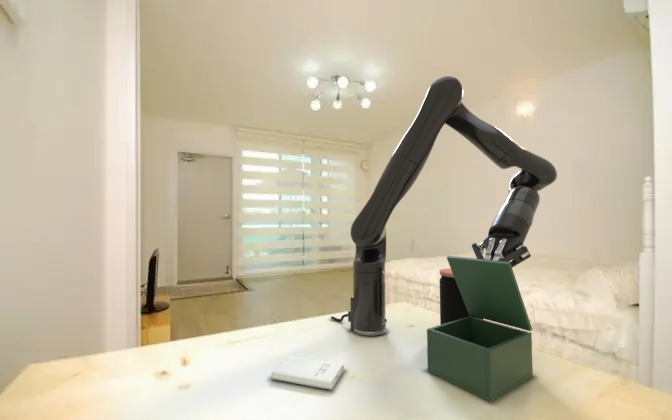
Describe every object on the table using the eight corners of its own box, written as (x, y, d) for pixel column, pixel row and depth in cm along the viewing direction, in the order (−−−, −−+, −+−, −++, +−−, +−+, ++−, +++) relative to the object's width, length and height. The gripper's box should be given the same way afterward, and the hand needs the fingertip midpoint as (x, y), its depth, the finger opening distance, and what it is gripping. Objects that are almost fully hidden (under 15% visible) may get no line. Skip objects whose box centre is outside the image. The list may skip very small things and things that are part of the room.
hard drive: (290, 362, 69) (343, 370, 65) (271, 380, 61) (330, 391, 57) (290, 355, 69) (343, 363, 65) (271, 371, 61) (330, 382, 57)
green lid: (508, 264, 58) (510, 261, 59) (446, 257, 70) (448, 255, 70) (530, 331, 63) (532, 328, 63) (468, 315, 74) (470, 312, 74)
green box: (491, 402, 54) (490, 350, 54) (427, 371, 65) (426, 328, 65) (532, 376, 62) (531, 332, 63) (470, 353, 74) (469, 315, 74)
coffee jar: (475, 333, 87) (474, 268, 88) (490, 348, 76) (488, 275, 77) (436, 331, 88) (435, 268, 89) (446, 347, 77) (444, 274, 78)
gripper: (479, 212, 78) (449, 265, 70) (537, 210, 67) (510, 273, 59) (490, 233, 80) (464, 286, 73) (548, 234, 70) (524, 297, 62)
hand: (484, 280), depth 66 cm, fingers closed
